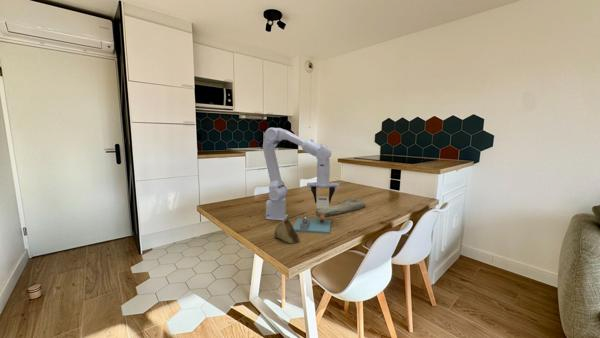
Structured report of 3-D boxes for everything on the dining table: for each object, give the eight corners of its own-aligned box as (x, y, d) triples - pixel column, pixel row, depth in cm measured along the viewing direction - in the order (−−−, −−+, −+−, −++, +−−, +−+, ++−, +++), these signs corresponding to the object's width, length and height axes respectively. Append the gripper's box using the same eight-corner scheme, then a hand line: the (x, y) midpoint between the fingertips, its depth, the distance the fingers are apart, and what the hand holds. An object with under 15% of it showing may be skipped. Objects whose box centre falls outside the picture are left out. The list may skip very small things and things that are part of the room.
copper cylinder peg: (319, 222, 117) (319, 215, 117) (320, 220, 119) (320, 213, 119) (324, 222, 117) (324, 215, 116) (324, 221, 119) (324, 214, 118)
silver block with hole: (316, 208, 112) (316, 201, 112) (316, 202, 121) (316, 196, 121) (329, 208, 112) (329, 201, 111) (328, 202, 121) (328, 196, 120)
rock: (266, 231, 103) (273, 237, 93) (278, 213, 104) (285, 217, 95) (287, 243, 106) (295, 251, 97) (298, 226, 108) (307, 231, 98)
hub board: (292, 231, 109) (292, 229, 109) (297, 219, 122) (297, 218, 122) (329, 233, 106) (329, 231, 106) (330, 222, 120) (331, 220, 120)
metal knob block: (300, 231, 109) (300, 219, 108) (302, 224, 117) (303, 214, 116) (307, 231, 108) (307, 220, 108) (309, 224, 116) (310, 214, 115)
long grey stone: (311, 216, 133) (323, 223, 125) (311, 207, 131) (323, 213, 123) (356, 202, 152) (369, 207, 145) (357, 194, 151) (370, 198, 143)
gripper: (306, 175, 111) (306, 204, 113) (340, 175, 110) (339, 205, 112) (307, 172, 118) (307, 200, 120) (338, 173, 117) (337, 201, 119)
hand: (322, 202), depth 117 cm, fingers closed on silver block with hole, 6 cm apart
